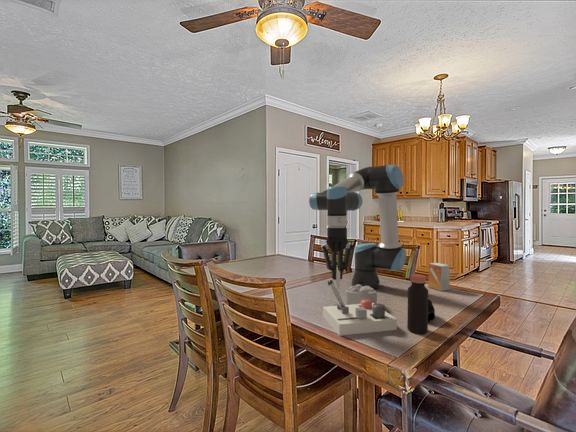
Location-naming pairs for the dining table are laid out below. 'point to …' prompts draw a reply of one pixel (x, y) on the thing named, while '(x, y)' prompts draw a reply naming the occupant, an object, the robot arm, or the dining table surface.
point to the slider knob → (361, 312)
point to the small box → (439, 276)
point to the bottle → (417, 305)
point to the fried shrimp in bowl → (430, 311)
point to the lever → (336, 294)
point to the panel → (356, 320)
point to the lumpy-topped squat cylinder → (360, 294)
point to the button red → (366, 304)
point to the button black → (378, 311)
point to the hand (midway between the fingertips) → (337, 287)
